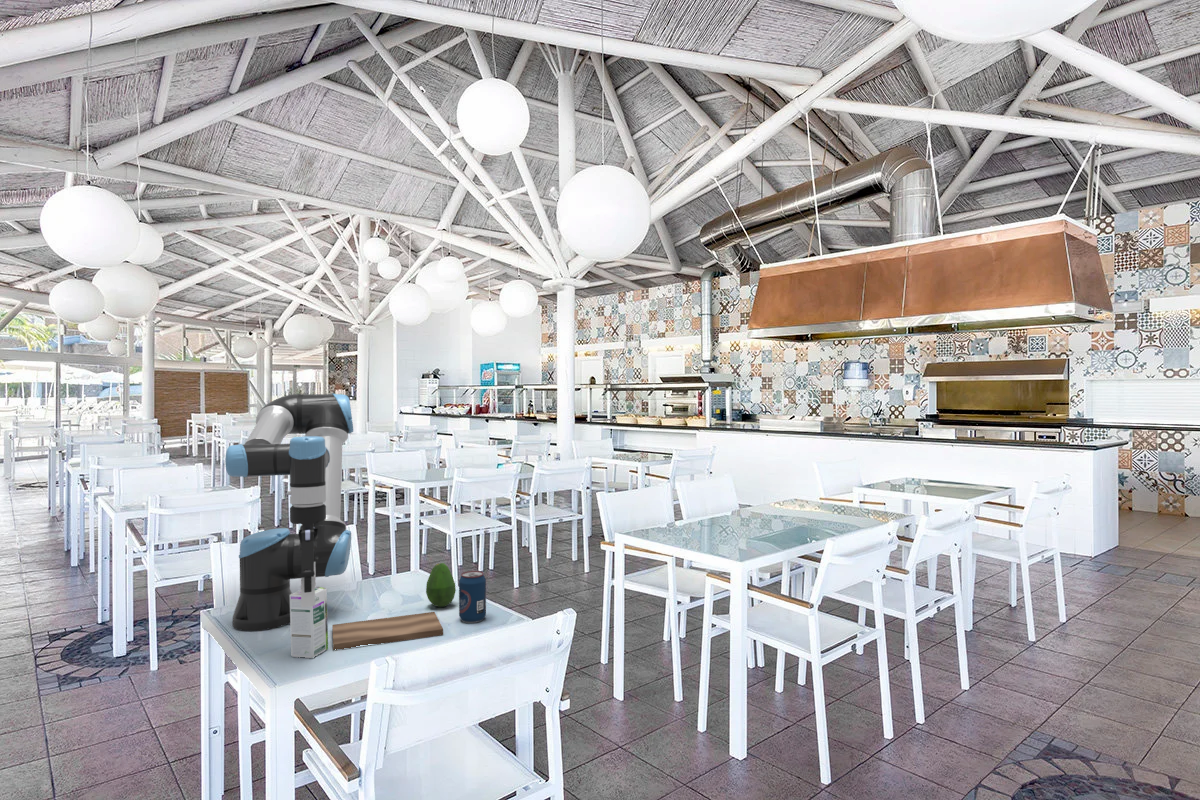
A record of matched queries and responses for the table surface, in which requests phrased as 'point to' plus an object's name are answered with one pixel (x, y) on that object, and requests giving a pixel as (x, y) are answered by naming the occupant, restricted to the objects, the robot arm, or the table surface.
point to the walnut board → (386, 630)
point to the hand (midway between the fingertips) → (308, 598)
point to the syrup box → (309, 625)
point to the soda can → (472, 596)
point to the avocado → (440, 586)
